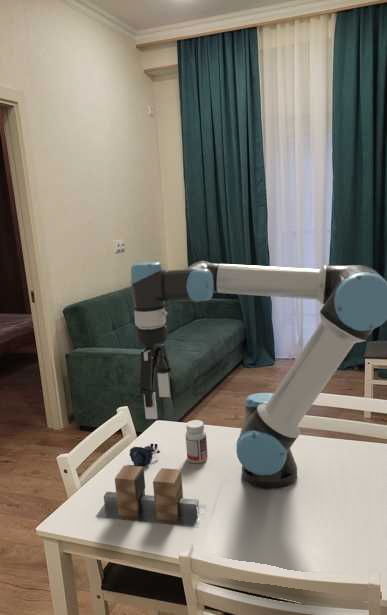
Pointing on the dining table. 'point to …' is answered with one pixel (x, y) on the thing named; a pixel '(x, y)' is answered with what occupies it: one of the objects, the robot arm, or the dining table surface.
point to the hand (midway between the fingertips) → (158, 406)
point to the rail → (154, 511)
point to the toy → (142, 455)
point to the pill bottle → (196, 441)
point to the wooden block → (129, 490)
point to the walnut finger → (168, 493)
